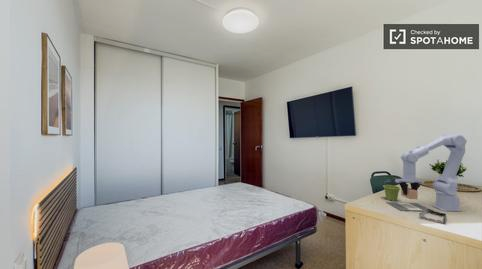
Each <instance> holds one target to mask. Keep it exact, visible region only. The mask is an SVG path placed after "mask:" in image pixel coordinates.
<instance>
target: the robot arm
mask: <svg viewBox="0 0 482 269" xmlns="http://www.w3.org/2000/svg"><path fill="white" fill-rule="evenodd" d="M466 144H467V138H465V136H463V135H462V134H461V135H460V134H443V135H441V136H438V137H437V138H436V139H435V140H432V141H431V142H430V143H428V144H426V145H417V146H416V147H415V148H414V149H410V150H409V151H408V152H407V151H406V152H403V154H402V155H401V156H400V159H401V161H402V174H403V175H402V178H395V180H394V181H395V183H398V184H399V187H400V189H401V188H402V191H403V194H404V195H407V188H409V184H410V188H411V189H414V190H416V191H418V190H419V188H420V187H421V184H425V181H424V179H416V177H417V176H416V163H417V162H418V161H419V159H420V158H423V157H425V156H427V155H429V153H430V151H433V150H434V149H437V148H439V147H441V146H444V147H446V149H448V150H449V151H450V153H449V155H448V157H447V162H446V163H445V166H444V169H443V171H442V174H441V176H439V177H437V178H436V180H435V181H434V182H433V183H432V189H433V190H435V204H432V205H431V206H432V207H433V208H436V209H438V210H441V211H446V212H462V211H461V209H460V204H461V203H460V202H461V201H460V197H459V196H458V195H457V192H458V182H457V181H456V179H455V178H456V177H457V174H458V171H459V169H460V166H461V164H462V160H463V158H464V155H465V154H466Z"/></svg>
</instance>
